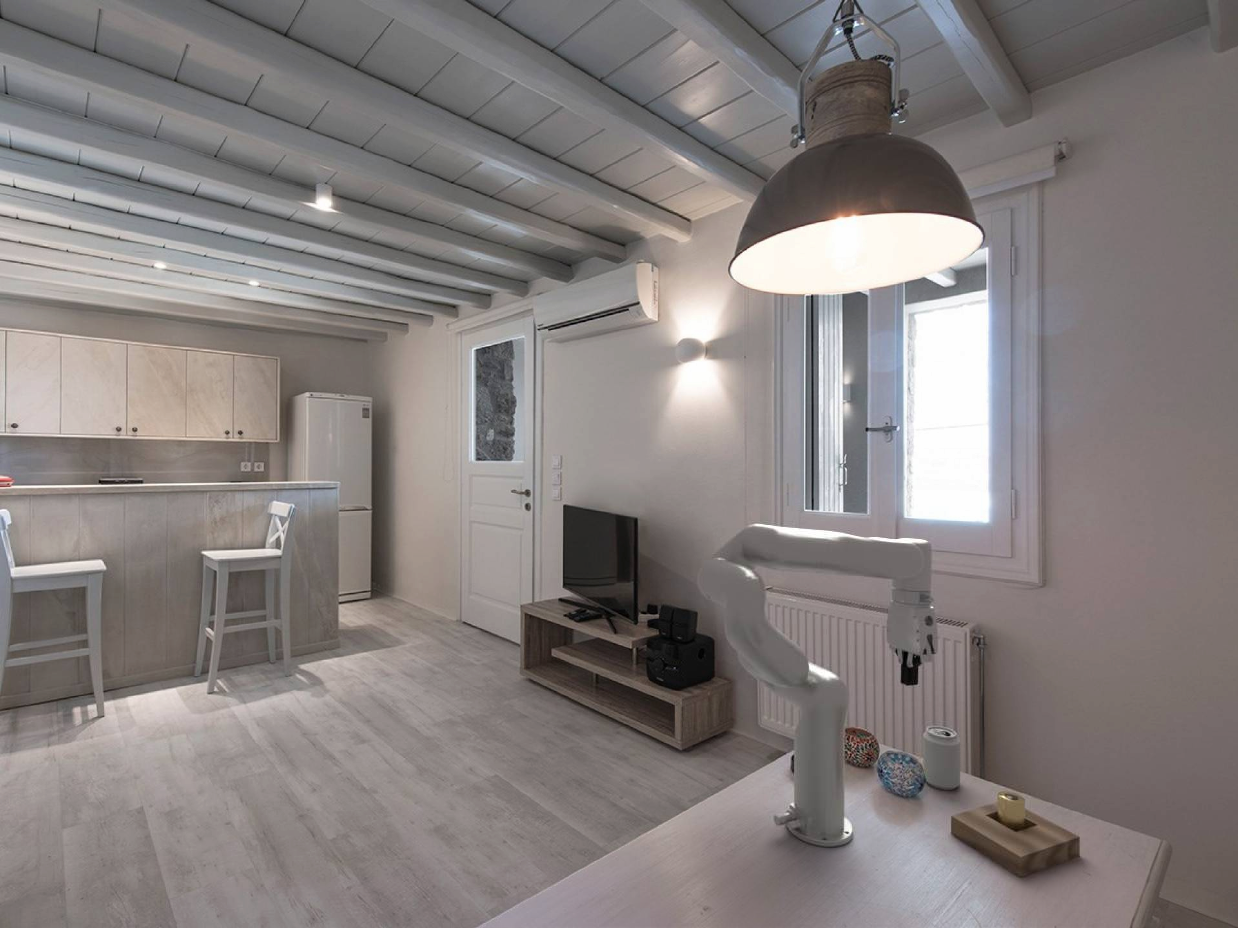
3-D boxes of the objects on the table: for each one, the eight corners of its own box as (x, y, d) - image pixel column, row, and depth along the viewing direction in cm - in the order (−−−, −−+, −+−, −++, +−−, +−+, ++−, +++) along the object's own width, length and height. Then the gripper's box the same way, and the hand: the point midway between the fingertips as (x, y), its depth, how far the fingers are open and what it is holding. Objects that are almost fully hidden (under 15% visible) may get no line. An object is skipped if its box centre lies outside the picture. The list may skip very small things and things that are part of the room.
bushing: (1014, 847, 117) (1014, 804, 118) (992, 834, 122) (992, 793, 122) (1030, 841, 119) (1030, 799, 119) (1008, 829, 123) (1008, 788, 123)
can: (965, 793, 137) (965, 738, 137) (928, 789, 139) (928, 735, 139) (953, 776, 144) (953, 725, 144) (919, 773, 146) (919, 722, 146)
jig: (1020, 876, 109) (1020, 856, 109) (951, 833, 122) (951, 815, 122) (1079, 855, 115) (1079, 836, 115) (1007, 816, 128) (1007, 799, 128)
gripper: (954, 603, 126) (952, 694, 126) (898, 590, 140) (896, 671, 140) (925, 605, 124) (923, 698, 123) (871, 591, 138) (869, 674, 137)
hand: (909, 683), depth 132 cm, fingers closed
